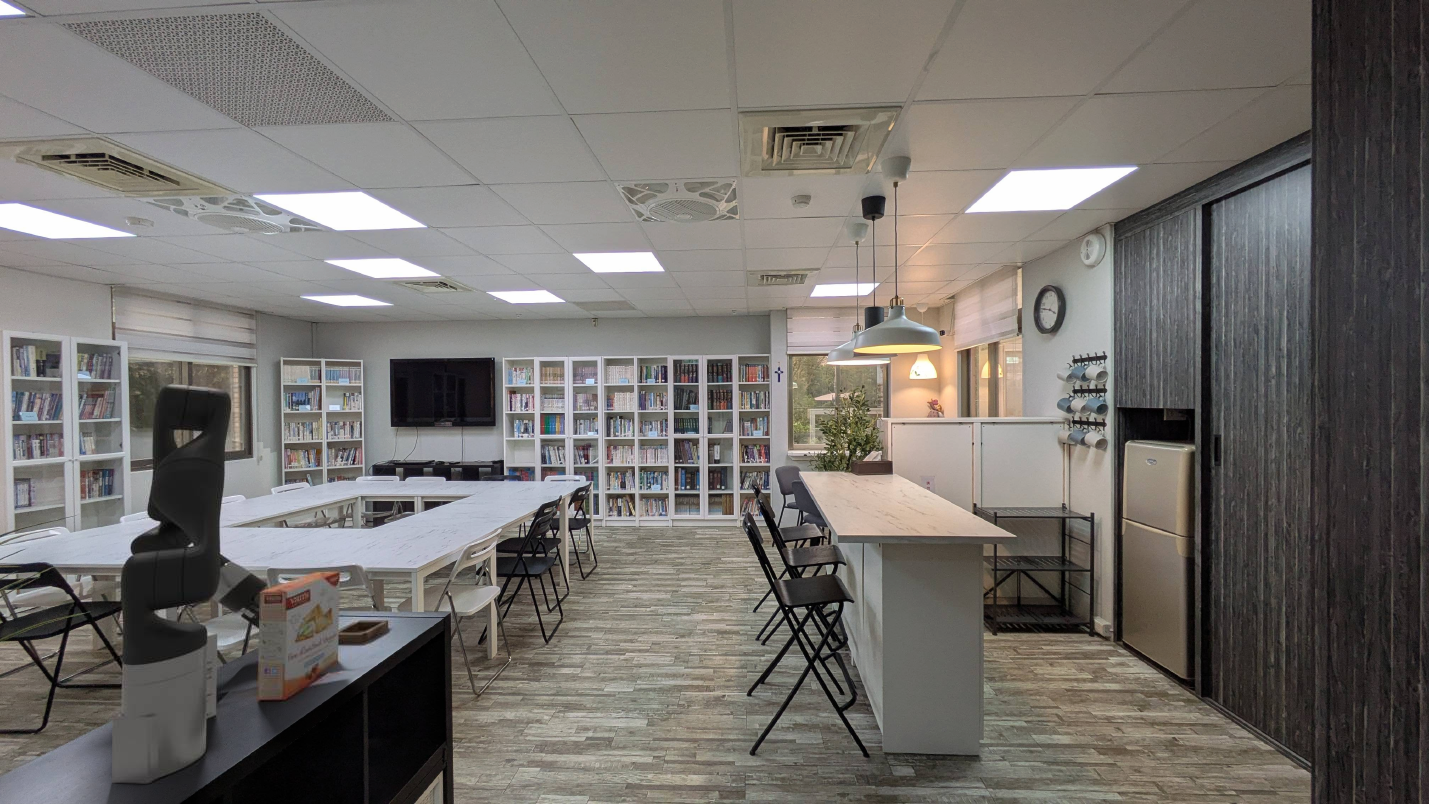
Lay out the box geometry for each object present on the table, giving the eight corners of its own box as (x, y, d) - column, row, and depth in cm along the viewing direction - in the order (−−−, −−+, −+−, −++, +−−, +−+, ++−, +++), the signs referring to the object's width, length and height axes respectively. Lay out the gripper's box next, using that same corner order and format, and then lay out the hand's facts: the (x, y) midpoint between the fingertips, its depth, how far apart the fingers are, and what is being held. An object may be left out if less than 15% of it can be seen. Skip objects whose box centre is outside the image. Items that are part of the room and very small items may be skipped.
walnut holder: (364, 650, 121) (364, 635, 121) (326, 650, 122) (326, 635, 122) (393, 633, 130) (393, 619, 131) (357, 633, 131) (357, 619, 131)
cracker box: (286, 701, 99) (287, 590, 100) (255, 702, 99) (256, 591, 100) (341, 667, 113) (341, 570, 114) (313, 667, 113) (314, 570, 114)
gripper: (236, 581, 111) (302, 624, 116) (260, 565, 124) (319, 605, 129) (203, 610, 109) (272, 654, 113) (231, 591, 122) (292, 631, 126)
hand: (297, 628), depth 121 cm, fingers open, 8 cm apart
